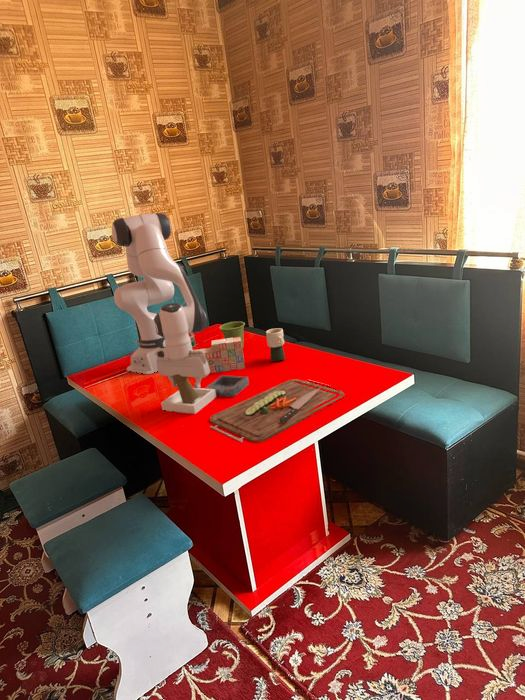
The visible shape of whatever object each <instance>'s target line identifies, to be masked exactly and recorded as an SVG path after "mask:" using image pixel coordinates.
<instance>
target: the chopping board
mask: <svg viewBox="0 0 525 700" xmlns="http://www.w3.org/2000/svg"><path fill="white" fill-rule="evenodd" d="M308 380H309V381H313V382H317V383H321V384H323V383H322V382H320V381H314V380H311V379H308ZM295 382H297V383H295ZM299 383H302V384H305V385H302V384H299ZM324 384H325V385H328V386H329V384H326V383H324ZM306 385H309V386H313V387H317V388H318V389H316V388H313V387H309V386H306ZM320 389H324V390H327V391H331V392H335V393H339V394H340V396H338V397H337V398H335V399H333V400H331V401H329V402H327V403H325V404H323V405H322V406H320V407H318V408H316V409H314V408H315V407H317V406H318V405H320V404H322V403H324V402H325V401H328V400H330V399H331V398H333V397H335V396H336V394H333V393H330V392H326V391H323V390H320ZM344 395H345V393H344V392H343V391H342V390H335V389H333V388H329V387H326V386H322V385H319V384H315V383H312V382H308V381H307V380H301V379H294V378H293V379H289V380H286V381H285V382H282V383H279V384H278V385H275V386H273V387H271V388H269V389H267V390H265V391H262V392H261V393H257V394H255V395H253V396H252V397H250V398H247V399H246V400H243V401H240V402H238V403H236V404H234V405H232V406H230V407H228V408H226V409H223V410H221V411H219V412H217V413H214V414H213V415H211V416H210V418H209V421H210V423H211V424H213V425H215V426H213V425H210V426H209V429H212V430H214V431H217V432H219V433H220V434H222V435H225V436H227V437H228V438H231V439H234V440H235V441H238V442H240V443H243V439H246V440H248V441H250V442H253V443H261V442H265V441H268V440H269V439H272V438H273V437H275V436H277V435H279V434H281V433H282V432H284V431H286V430H288V429H289V428H291V427H293V426H295V425H297V424H298V422H299V423H301V422H303V421H304V420H303V419H305V418H306V419H308V418H309V417H308V416H310V415H312V414H313V413H315V412H317V411H318V410H320V409H322V408H324V407H325V406H327V405H329V404H331V403H333V402H335V401H336V400H338V399H340V398H342V397H343V396H344ZM344 397H345V396H344ZM312 409H314V410H312ZM310 410H312V411H310ZM309 411H310V412H309ZM307 412H308V413H307ZM304 414H305V415H304ZM312 416H313V415H312ZM307 417H308V418H307ZM310 417H311V416H310ZM306 419H305V420H306ZM302 420H303V421H302ZM300 421H301V422H300ZM218 427H219V428H222V429H224V430H226V431H228V432H226V431H223V430H222V429H219V428H218ZM229 432H231V433H233V434H234V435H232V434H231V433H229ZM235 435H237V436H238V437H237V436H235ZM239 437H241V438H239Z"/></svg>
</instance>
